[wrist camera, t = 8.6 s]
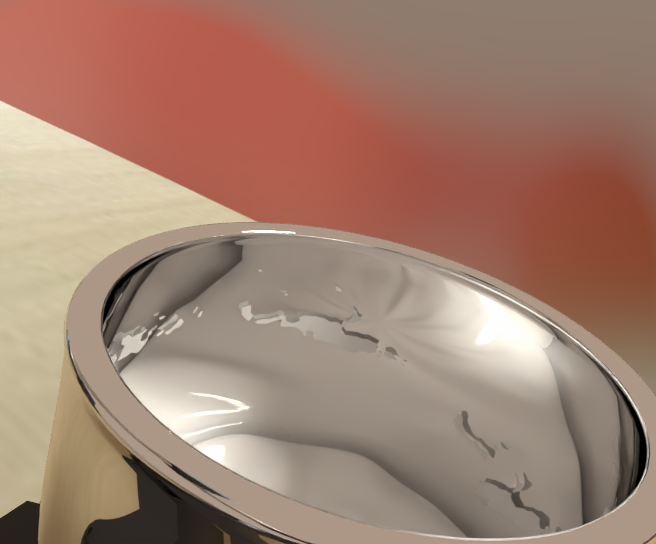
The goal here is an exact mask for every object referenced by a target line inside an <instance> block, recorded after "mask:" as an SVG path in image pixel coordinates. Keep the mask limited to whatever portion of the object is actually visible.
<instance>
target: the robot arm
mask: <svg viewBox="0 0 656 544" xmlns="http://www.w3.org/2000/svg"><path fill="white" fill-rule="evenodd" d="M39 507H40V504H38V503H34V502H30V501H26V502H25V503H23V504H21V505H20V506H18V507H17V508H15V509H14V510H12V511H11V512H9V513H8V514H6V515H5V516H3V517H2V518H0V544H34V540H35V534H36V527H37V520H38V513H39Z"/></svg>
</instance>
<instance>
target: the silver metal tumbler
mask: <svg viewBox="0 0 656 544" xmlns="http://www.w3.org/2000/svg"><path fill="white" fill-rule="evenodd" d="M64 348H65V349H64V359H63V367H62V374H61V380H60V387H59V393H58V399H57V405H56V410H55V416H54V421H53V427H52V433H51V438H50V444H49V450H48V455H47V461H46V467H45V473H44V480H43V487H42V493H41V500H40V507H39V513H38V520H37V527H36V534H35V540H34V544H656V395H655V393H654V392H653V391H652V390H651V388H650V387H649V386H648V385H647V384H646V383H645V381H644V380H643V379H642V378H641V377H640V376H639V375H638V374H637V373H636V372H635V371H634V369H632V367H631V366H630V365H628V364H627V363H626V362H625V361H624V360H623V359H622V358H621V357H620V356H619V355H617V354H616V353H615V352H614V351H613V350H612V349H611V348H610V347H608V346H607V345H606V344H605V343H603V342H602V341H601V340H600V339H598V338H597V337H596V336H594V335H593V334H592V333H590V332H589V331H588V330H586V329H585V328H583V327H582V326H581V325H579V324H578V323H576V322H575V321H573V320H572V319H570V318H569V317H567V316H566V315H564V314H563V313H561V312H559V311H558V310H556V309H554V308H553V307H551V306H549V305H548V304H546V303H544V302H542V301H540V300H539V299H537V298H535V297H533V296H531V295H530V294H528V293H526V292H524V291H522V290H520V289H518V288H516V287H514V286H512V285H510V284H508V283H506V282H504V281H501V280H499V279H497V278H495V277H493V276H490V275H488V274H485V273H483V272H481V271H479V270H476V269H474V268H471V267H469V266H466V265H464V264H461V263H458V262H456V261H453V260H450V259H447V258H445V257H442V256H439V255H436V254H433V253H430V252H427V251H423V250H420V249H417V248H413V247H410V246H407V245H403V244H400V243H396V242H392V241H388V240H384V239H379V238H375V237H371V236H367V235H362V234H357V233H352V232H347V231H341V230H335V229H329V228H322V227H314V226H305V225H295V224H284V223H265V222H236V223H218V224H207V225H199V226H192V227H186V228H181V229H176V230H172V231H167V232H163V233H160V234H156V235H153V236H149V237H146V238H144V239H141V240H138V241H136V242H133V243H131V244H129V245H127V246H125V247H123V248H121V249H119V250H117V251H115V252H114V253H112V254H110V255H109V256H107V257H106V258H104V259H103V260H102V261H101V262H99V263H98V264H97V265H96V266H95V267H94V268H93V269H92V270H91V271H90V272H89V273H88V274H87V275H86V276H85V277H84V278H83V279H82V281H81V282H80V283H79V285H78V286H77V288H76V289H75V291H74V293H73V295H72V297H71V300H70V302H69V305H68V308H67V311H66V315H65V321H64Z"/></svg>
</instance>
